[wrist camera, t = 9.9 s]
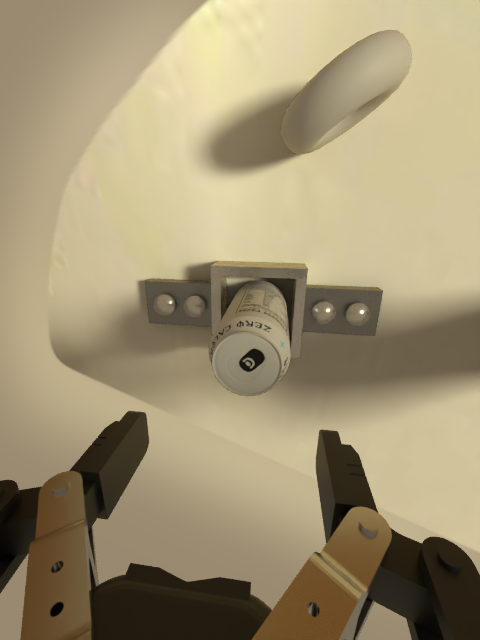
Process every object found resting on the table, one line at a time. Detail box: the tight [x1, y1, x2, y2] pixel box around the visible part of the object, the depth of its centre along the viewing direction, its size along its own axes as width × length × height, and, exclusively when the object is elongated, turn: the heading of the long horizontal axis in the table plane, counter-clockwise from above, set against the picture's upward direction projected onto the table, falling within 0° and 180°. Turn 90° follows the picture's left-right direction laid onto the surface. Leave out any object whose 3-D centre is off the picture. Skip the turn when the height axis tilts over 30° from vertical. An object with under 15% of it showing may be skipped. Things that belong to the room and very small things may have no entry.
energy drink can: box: [209, 281, 291, 396], centre depth 27 cm, size 6×6×15 cm
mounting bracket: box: [145, 261, 383, 358], centre depth 32 cm, size 26×10×4 cm, turn 89°
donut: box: [281, 30, 412, 154], centre depth 23 cm, size 10×4×10 cm, turn 122°
